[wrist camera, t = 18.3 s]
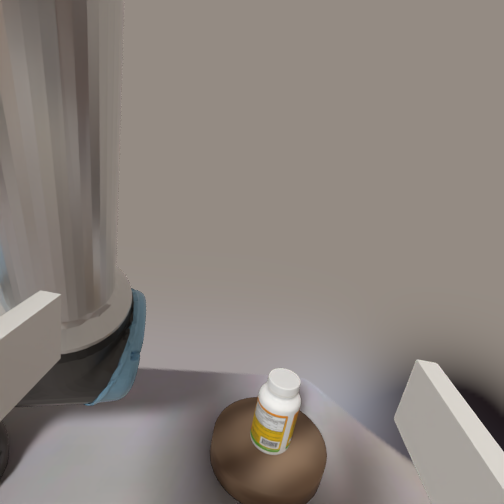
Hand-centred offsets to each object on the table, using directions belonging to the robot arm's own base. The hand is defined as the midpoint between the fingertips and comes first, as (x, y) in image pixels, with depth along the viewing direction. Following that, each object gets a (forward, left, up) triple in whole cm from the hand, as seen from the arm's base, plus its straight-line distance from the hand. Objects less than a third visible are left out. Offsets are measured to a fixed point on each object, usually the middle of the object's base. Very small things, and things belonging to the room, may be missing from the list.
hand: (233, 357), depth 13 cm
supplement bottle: (-13, +23, -29) cm, 39 cm away
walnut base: (-13, +23, -32) cm, 41 cm away
